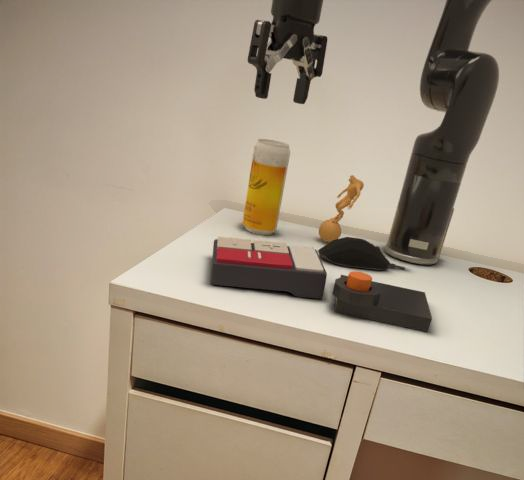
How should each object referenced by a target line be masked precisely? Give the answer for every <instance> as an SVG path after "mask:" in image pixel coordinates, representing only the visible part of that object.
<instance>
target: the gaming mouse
mask: <svg viewBox="0 0 524 480" xmlns="http://www.w3.org/2000/svg"><path fill="white" fill-rule="evenodd" d="M317 252H318V255H319V257H320V258H322V259H324V260H327V262H330V263H332V264H334V265H338V266H341V267H349V268H357V269H358V268H359V269H365V270H366V269H367V270H375V271H383V270H387V269H388V268H389V267H390V268H393V269H394V268H396V269H400V270H405V269H406V267H405V266H401V265H397V264H396V263H394V262H393V263H391V262H390V260H388V258H387V257H386V256H385V254H384V253H383V252H382V251H381V247H380V246H378V245H375V244H373V243H372V242H370V241H368V240H366V239H363V238H358V237H351V236H345V237H339V238H338V239H335V240H333V241H331V242H327V243H326V244H325V245H323V246H322V247H321V248H319V249H317Z"/></svg>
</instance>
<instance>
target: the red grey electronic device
mask: <svg viewBox="0 0 524 480" xmlns="http://www.w3.org/2000/svg"><path fill="white" fill-rule="evenodd" d="M327 276H328V273H327V270H326V268H325V266H324V264H323V262H322V259H321V256H320V255H319V252H318V249H315V247H314V246H304V245H294V244H289V245H287V243H286V242H279V241H269V240H268V241H267V240H258V239H256V240H255V239H254V240H253V242H252V241H251V239H248V238H239V237H238V238H236V237H229V236H228V237H227V236H217V238H215V239H214V240H213V246H212V259H211V273H210V284H211V285H213V286H222V287H224V286H225V287H233V288H234V287H235V288H243V289H244V288H245V289H255V290H266V291H267V290H268V291H277V292H278V291H279V292H287V293H288V292H289V293H290V294H292V295H293V296H294V297H296V298H309V299H320V300H321V299H323V298H324V293H325V288H326V281H327Z"/></svg>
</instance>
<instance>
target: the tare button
mask: <svg viewBox="0 0 524 480" xmlns="http://www.w3.org/2000/svg"><path fill="white" fill-rule="evenodd" d="M347 276H348V279H347V283H346V286H347V287H349V288H352V289H354V290H359V291H369V289H370V285H371V282H372V281H373V276H372V275H370V274H368V273H365V272H362V271H356V270H354V271H349V273H348V275H347Z"/></svg>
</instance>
